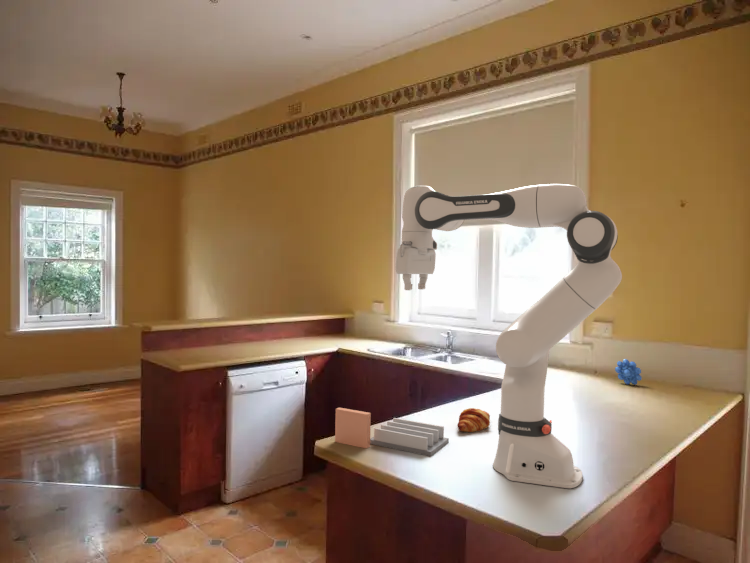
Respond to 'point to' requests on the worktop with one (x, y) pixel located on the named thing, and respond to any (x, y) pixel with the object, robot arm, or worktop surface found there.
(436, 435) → the dish rack
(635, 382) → the blue knobbly flower
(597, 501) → the worktop surface
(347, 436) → the plate tile
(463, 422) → the croissant
